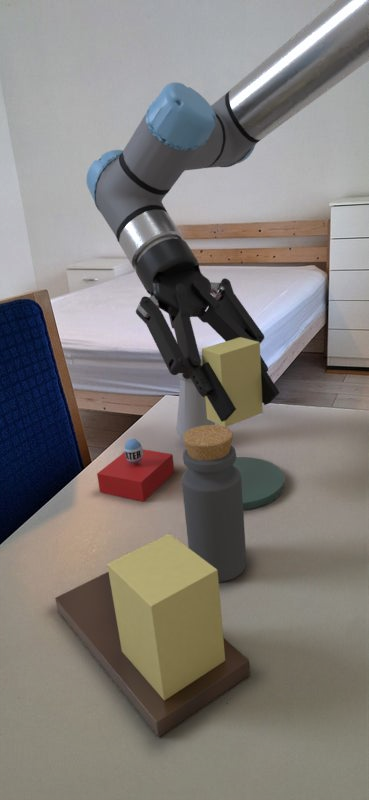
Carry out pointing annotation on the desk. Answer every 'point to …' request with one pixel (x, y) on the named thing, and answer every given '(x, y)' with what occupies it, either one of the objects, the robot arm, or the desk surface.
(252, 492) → the plate
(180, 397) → the salt shaker
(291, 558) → the desk surface
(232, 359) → the yellow rectangular block
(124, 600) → the butter block
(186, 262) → the robot arm
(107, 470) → the red box
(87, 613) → the butter board
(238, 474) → the bottle
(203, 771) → the desk surface
